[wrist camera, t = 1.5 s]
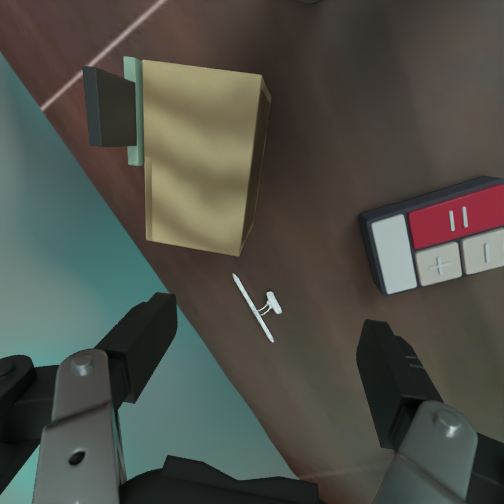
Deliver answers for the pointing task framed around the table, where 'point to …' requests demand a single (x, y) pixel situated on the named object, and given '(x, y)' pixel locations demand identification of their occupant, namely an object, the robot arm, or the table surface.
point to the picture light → (271, 302)
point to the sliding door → (116, 108)
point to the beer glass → (306, 1)
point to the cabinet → (202, 154)
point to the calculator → (436, 236)
